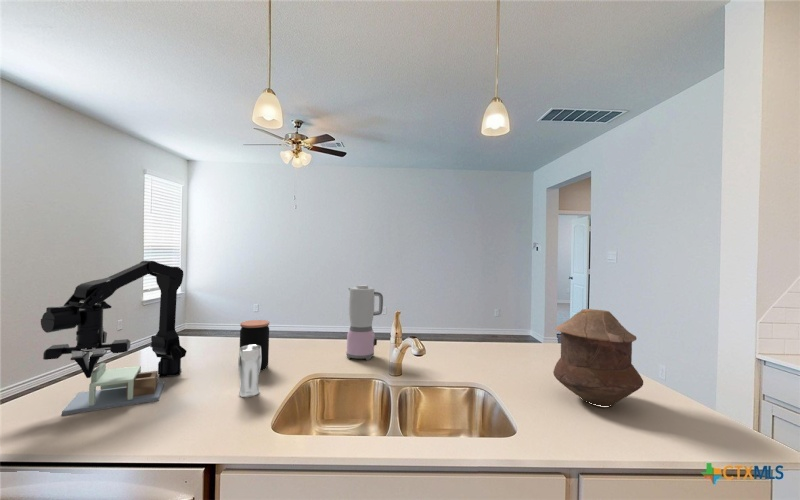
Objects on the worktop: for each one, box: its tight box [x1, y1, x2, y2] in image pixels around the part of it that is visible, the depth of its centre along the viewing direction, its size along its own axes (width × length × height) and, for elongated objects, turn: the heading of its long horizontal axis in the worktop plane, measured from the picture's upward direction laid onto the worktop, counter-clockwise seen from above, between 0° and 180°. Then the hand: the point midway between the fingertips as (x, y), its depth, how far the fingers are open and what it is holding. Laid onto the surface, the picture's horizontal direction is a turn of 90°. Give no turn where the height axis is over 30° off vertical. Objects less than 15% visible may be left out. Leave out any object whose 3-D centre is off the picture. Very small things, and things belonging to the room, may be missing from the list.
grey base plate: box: [61, 381, 165, 416], centre depth 107 cm, size 22×14×4 cm, turn 119°
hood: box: [88, 362, 142, 405], centre depth 107 cm, size 10×13×9 cm
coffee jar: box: [239, 319, 270, 372], centre depth 137 cm, size 11×11×18 cm
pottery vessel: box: [552, 308, 644, 406], centre depth 115 cm, size 26×26×30 cm
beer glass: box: [237, 345, 261, 398], centre depth 113 cm, size 7×7×15 cm
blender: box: [345, 284, 384, 362], centre depth 155 cm, size 16×12×32 cm
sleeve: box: [126, 370, 159, 398], centre depth 110 cm, size 7×7×5 cm
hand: (88, 377), depth 104 cm, fingers closed
